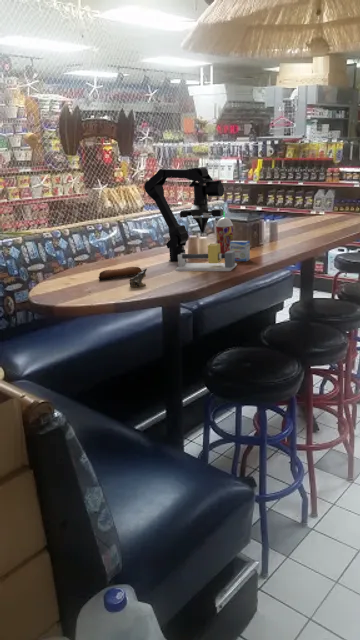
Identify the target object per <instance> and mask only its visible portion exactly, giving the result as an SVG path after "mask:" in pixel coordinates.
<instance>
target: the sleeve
mask: <svg viewBox="0 0 360 640" xmlns="http://www.w3.org/2000/svg"><path fill="white" fill-rule="evenodd" d="M207 254H208V262H207V263H221V262H222V261H221V260H222V259H218V254H221V252H220V243H218V242H217V243H210V244H208V245H207Z"/></svg>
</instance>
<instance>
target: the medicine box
mask: <svg viewBox="0 0 360 640" xmlns="http://www.w3.org/2000/svg"><path fill="white" fill-rule="evenodd" d="M250 243H251V241H250V240H233V241H231V242H230V251H235V262H248V261H251V254H250V253H251V249H250V246H251V245H250Z"/></svg>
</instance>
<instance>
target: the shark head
mask: <svg viewBox="0 0 360 640" xmlns="http://www.w3.org/2000/svg"><path fill="white" fill-rule="evenodd" d="M147 270H148V268H144V269H142V272H140V273H138V274H137V275H135V276H134V277H132V278H130V279H129V287H130V288H141V287H146V286H147V284H146V283H143V280H144V279H145V277H146V275H147V274H146V273H147Z"/></svg>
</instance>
